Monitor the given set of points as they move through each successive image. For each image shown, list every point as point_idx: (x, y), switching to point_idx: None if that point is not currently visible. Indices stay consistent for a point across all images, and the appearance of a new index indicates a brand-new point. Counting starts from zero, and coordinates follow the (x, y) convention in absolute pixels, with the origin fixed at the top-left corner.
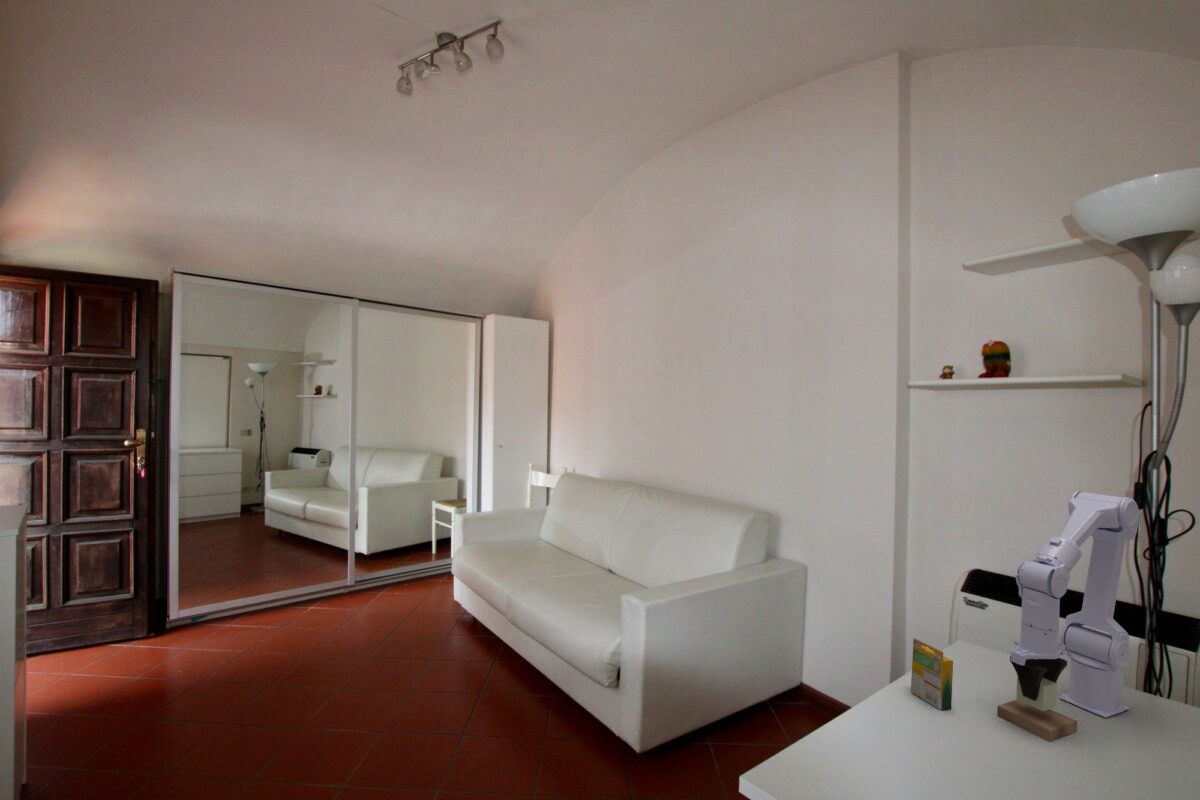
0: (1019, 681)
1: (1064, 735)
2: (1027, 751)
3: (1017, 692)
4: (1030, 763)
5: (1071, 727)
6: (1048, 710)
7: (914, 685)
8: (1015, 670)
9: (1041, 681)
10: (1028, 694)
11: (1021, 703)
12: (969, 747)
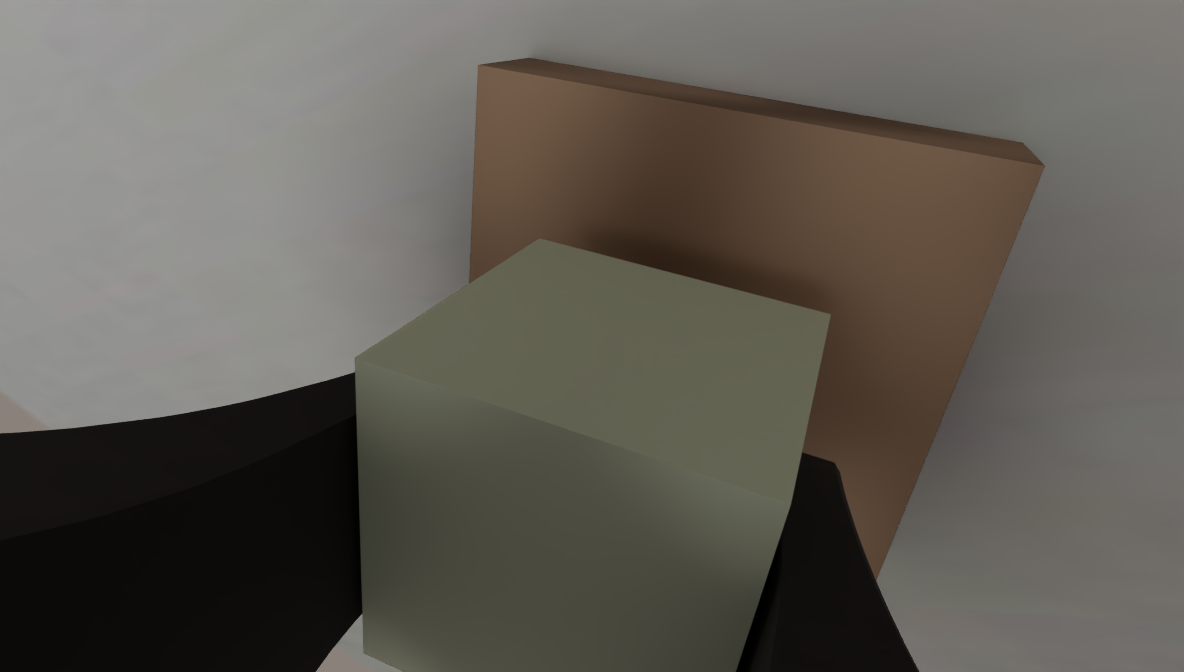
0: (301, 390)
1: None
2: (269, 355)
3: (499, 273)
4: (187, 386)
5: None
6: (877, 427)
7: None
8: (97, 428)
9: (533, 641)
10: None
11: (791, 204)
12: (6, 136)
